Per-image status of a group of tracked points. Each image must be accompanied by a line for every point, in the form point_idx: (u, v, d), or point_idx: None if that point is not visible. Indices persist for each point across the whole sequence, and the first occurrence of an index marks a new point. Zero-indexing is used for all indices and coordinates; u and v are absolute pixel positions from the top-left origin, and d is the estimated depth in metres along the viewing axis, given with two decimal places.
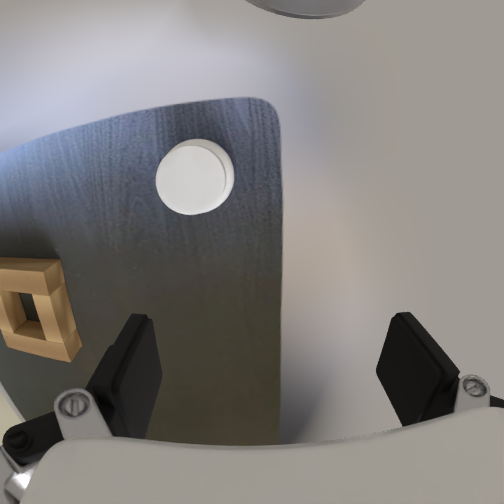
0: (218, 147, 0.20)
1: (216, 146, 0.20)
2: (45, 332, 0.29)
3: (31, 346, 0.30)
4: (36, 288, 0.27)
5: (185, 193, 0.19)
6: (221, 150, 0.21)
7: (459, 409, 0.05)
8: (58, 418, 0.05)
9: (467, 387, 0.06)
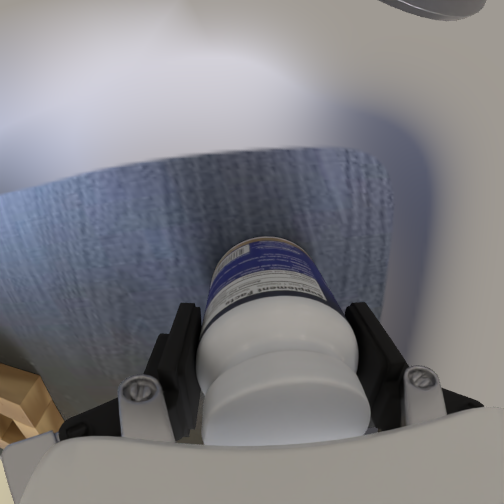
0: (339, 323, 0.09)
1: (335, 322, 0.08)
2: None
3: None
4: (16, 416, 0.16)
5: None
6: (344, 329, 0.09)
7: (412, 405, 0.06)
8: (125, 404, 0.06)
9: (414, 380, 0.07)
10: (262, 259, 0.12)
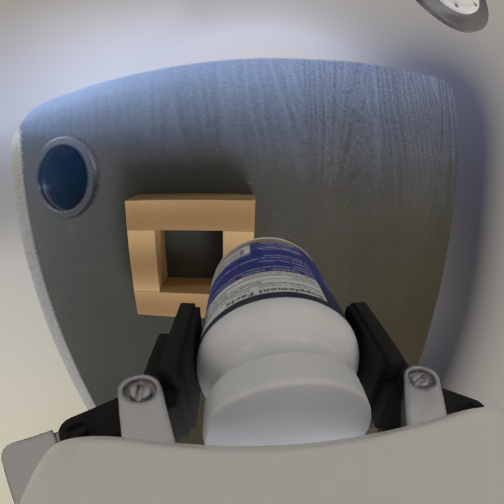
0: (340, 324, 0.09)
1: (336, 323, 0.08)
2: None
3: None
4: (235, 222, 0.28)
5: None
6: (345, 330, 0.09)
7: (412, 405, 0.06)
8: (125, 404, 0.06)
9: (413, 380, 0.07)
10: (262, 260, 0.12)
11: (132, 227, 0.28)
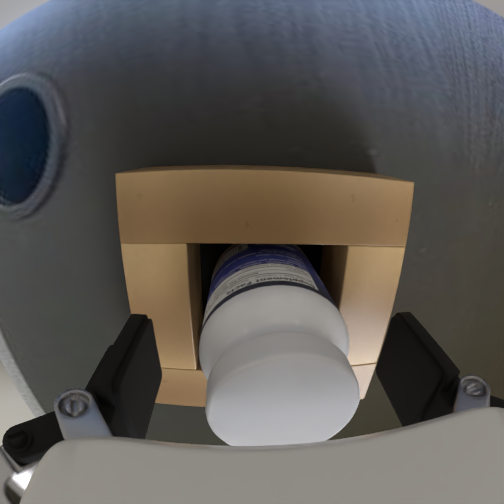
0: (330, 310, 0.10)
1: (326, 309, 0.09)
2: None
3: None
4: (374, 228, 0.12)
5: (274, 434, 0.08)
6: (335, 315, 0.10)
7: (459, 409, 0.05)
8: (58, 418, 0.05)
9: (467, 387, 0.06)
10: (259, 254, 0.13)
11: (133, 237, 0.12)
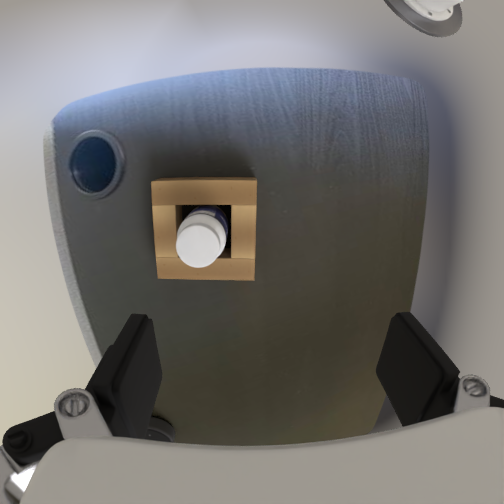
0: (215, 221, 0.32)
1: (213, 220, 0.32)
2: (234, 248, 0.37)
3: (202, 269, 0.38)
4: (241, 198, 0.35)
5: (195, 255, 0.31)
6: (217, 223, 0.33)
7: (459, 409, 0.05)
8: (58, 418, 0.05)
9: (467, 387, 0.06)
10: (200, 209, 0.36)
11: (157, 203, 0.35)
